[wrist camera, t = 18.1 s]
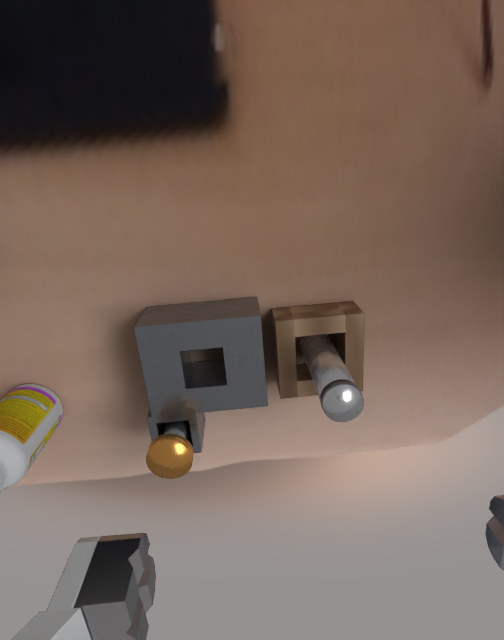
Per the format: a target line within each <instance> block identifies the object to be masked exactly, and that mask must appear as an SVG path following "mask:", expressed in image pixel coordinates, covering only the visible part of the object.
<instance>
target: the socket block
mask: <svg viewBox="0 0 504 640" xmlns="http://www.w3.org/2000/svg"><path fill="white" fill-rule="evenodd" d="M134 331H135V336H136V341H137V346H138V351H139V356H140V361H141V365H142V370H143V375H144V380H145V385H146V390H147V395H148V400H149V405H150V411H149V414H148V416H147V419H148V424H149V429H150V434H151V439H152V441H153V440H154V439H155V438H157V437H158V436H161V435H163V434H164V430H165V426H166V423H167V422H175V421H186V420H189V425H188V430H187V436H186V439H187V440H188V441H189V442H190V443H191V445H192V447H193V452H194V453H200V452H202V445H203V436H204V428H205V413H204V412H211V411H221V410H232V409H242V408H253V407H264V406H268V402H267V389H266V377H265V364H264V351H263V339H262V326H261V315H260V309H259V304H258V298H257V297H249V298H238V299H227V300H216V301H205V302H194V303H183V304H172V305H161V306H150V307H146V309H145V311H144V312H143V314H142V315H141V317H140V318H139V320H138V321H137V323H136V325H135V326H134ZM220 347H223V353H224V359H220V360H209V361H198V362H192V361H191V354H190V350H199V349H210V348H220Z"/></svg>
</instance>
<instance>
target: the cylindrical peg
mask: <svg viewBox="0 0 504 640" xmlns="http://www.w3.org/2000/svg"><path fill="white" fill-rule="evenodd" d="M300 348H301V350H302V353H303V356H304V358H305V361H306V364H307V366H308V369H309V372H310V374H311V377H312V380H313V382H314V385H315V388H316V390H317V393H318V396H319V398H320V402H321V405H322V408H323V411H324V412H325V414H326V415H327V416H328V417H329V418H330V419H331V420H333V421H337V422H346V421H350V420H352V419H354V418H356V417H357V416H358V415H359V414H360V413H361V411H362V409H363V406H364V399H363V396H362V393H361V392H360V390H359V388H358V386H357V385H356V384H355V382H354V381H353V379H352V377H351V375H350V373H349V372H348V370H347V368H346V366H345V365H344V363H343V361H342V359H341V358H340V356H339V354H338V352H337V351H336V349H335V347H334V345H333V344H332V342H331V340H330V338H329V337H328V335H327V334H322V335H311V336H301V338H300Z"/></svg>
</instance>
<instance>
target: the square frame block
mask: <svg viewBox="0 0 504 640" xmlns="http://www.w3.org/2000/svg"><path fill="white" fill-rule="evenodd" d="M272 318H273V333H274V347H275V362H276V377H277V384H278V389H279V394H280V399H281V398H291V397H302V396H313V395H318V393H317V390H316V388H315V385H314V382H313V380H312V377H311V374H310V372H309V369H308V366H307V364H306V363H302V364H296V347H295V337H300V336H311V335H322V334H333V333H336V351H337V352H338V354H339V356H340V358H341V359H342V361H343V363H344V365H345V366H346V368H347V370H348V372H349V373H350V375H351V377H352V379H353V381H354V382H355V384H356V385H357V386H358V388H359V390H360V391H363V352H364V312H363V311H362V310H361V309H360V308H359V307H358V306H357V305H356V304H355V303H354V301H348V302H337V303H326V304H315V305H304V306H294V307H283V308H272Z"/></svg>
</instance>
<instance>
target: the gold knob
mask: <svg viewBox="0 0 504 640" xmlns="http://www.w3.org/2000/svg"><path fill="white" fill-rule="evenodd" d="M188 425H189V420H186V421H175V422H167V423H166V426H165V430H164V434H163V435H161V436H158V437H157V438H155V439H154V440H153V441H152V442H151V444H150V446H149V450H148V453H147V457H146V462H147V466H148V468H149V469H150V470H151V471H152V472H153V473H154V474H155V475H157V476H159V477H162V478H168V479H173V478H178V477H181V476H183V475H184V474H186V473H187V472H188V471H189V470H190V468H191V466H192V461H193V453H194V452H193V447H192V445H191V443H190V442H189V441H188V440H187V439H186V436H187V430H188Z"/></svg>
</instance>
